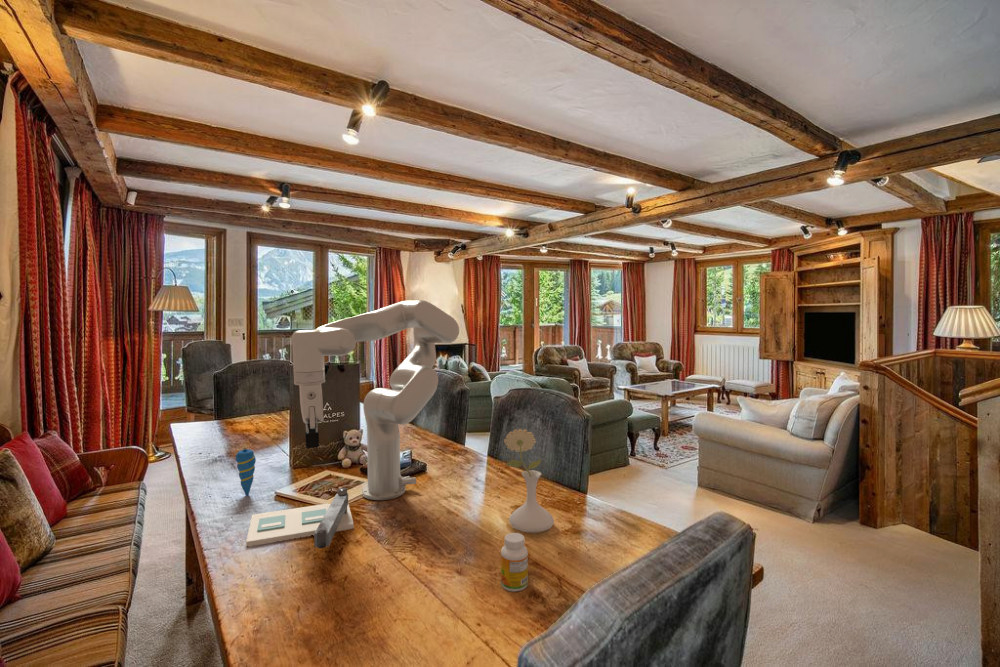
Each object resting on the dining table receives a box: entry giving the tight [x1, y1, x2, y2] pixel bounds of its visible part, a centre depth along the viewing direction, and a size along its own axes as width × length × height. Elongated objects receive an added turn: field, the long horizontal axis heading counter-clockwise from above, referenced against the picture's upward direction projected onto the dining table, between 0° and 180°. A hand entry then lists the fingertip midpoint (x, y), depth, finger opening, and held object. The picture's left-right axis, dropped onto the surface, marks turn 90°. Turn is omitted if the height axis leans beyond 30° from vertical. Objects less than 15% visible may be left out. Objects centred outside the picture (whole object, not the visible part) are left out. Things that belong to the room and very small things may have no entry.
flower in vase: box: [503, 428, 555, 534], centre depth 121 cm, size 13×11×25 cm
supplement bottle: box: [500, 532, 529, 593], centre depth 96 cm, size 5×5×10 cm
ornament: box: [235, 445, 257, 496], centre depth 141 cm, size 5×5×15 cm
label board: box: [245, 503, 355, 547], centre depth 123 cm, size 24×16×2 cm, turn 113°
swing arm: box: [313, 487, 349, 549], centre depth 115 cm, size 25×3×6 cm, turn 7°
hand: (312, 446), depth 125 cm, fingers closed
